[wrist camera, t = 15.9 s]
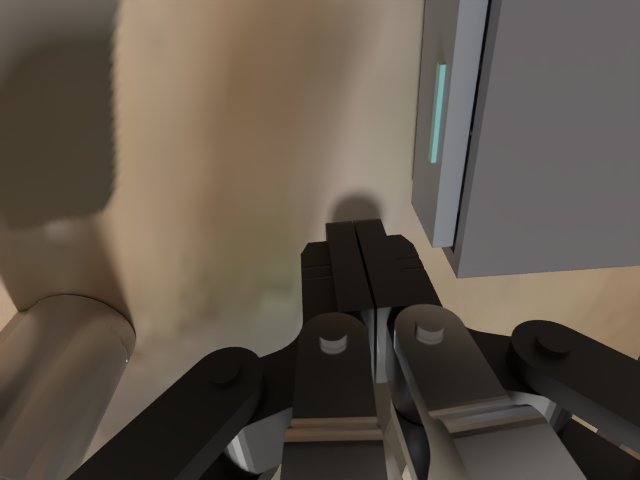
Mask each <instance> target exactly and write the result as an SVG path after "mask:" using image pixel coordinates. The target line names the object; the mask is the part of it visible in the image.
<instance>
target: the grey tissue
mask: <svg viewBox="0 0 640 480" xmlns="http://www.w3.org/2000/svg"><path fill="white" fill-rule="evenodd" d="M373 385H374V394H375V402H376V411H377V419H378V424H380V426H381V430H382V436H383V443H384V451H385V459H386V468H387V476H388V480H403V479H402V474H403V471H404V468H405V466H406V464H407V463H406V460H405V457H404V453H403V450H402V447H401V444H400V441H399V438H398V434H397V431H396V428H395V425H394V422H393V419H392V415H391V393H390V389H389V385H388V382H384V383H376V379H375V374H374V384H373Z"/></svg>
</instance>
